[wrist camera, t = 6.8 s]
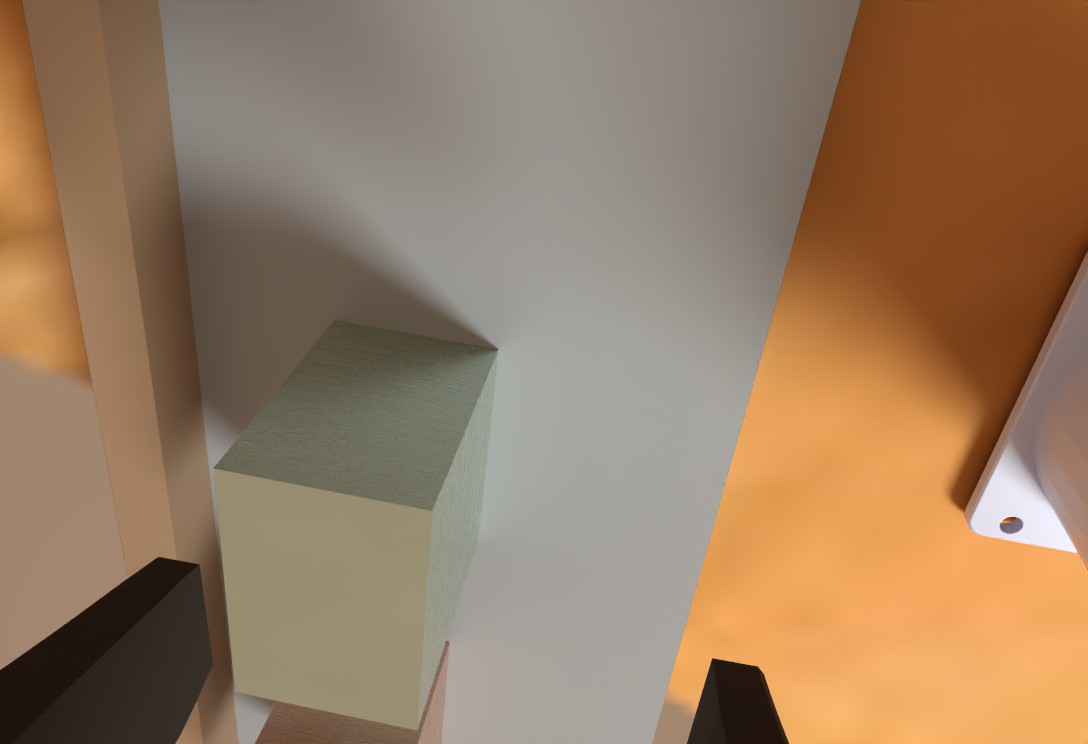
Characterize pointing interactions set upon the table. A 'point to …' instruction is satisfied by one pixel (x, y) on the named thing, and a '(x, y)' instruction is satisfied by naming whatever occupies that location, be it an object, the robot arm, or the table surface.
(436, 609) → the sage tin
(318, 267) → the shelf
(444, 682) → the terracotta tin
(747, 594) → the table surface
